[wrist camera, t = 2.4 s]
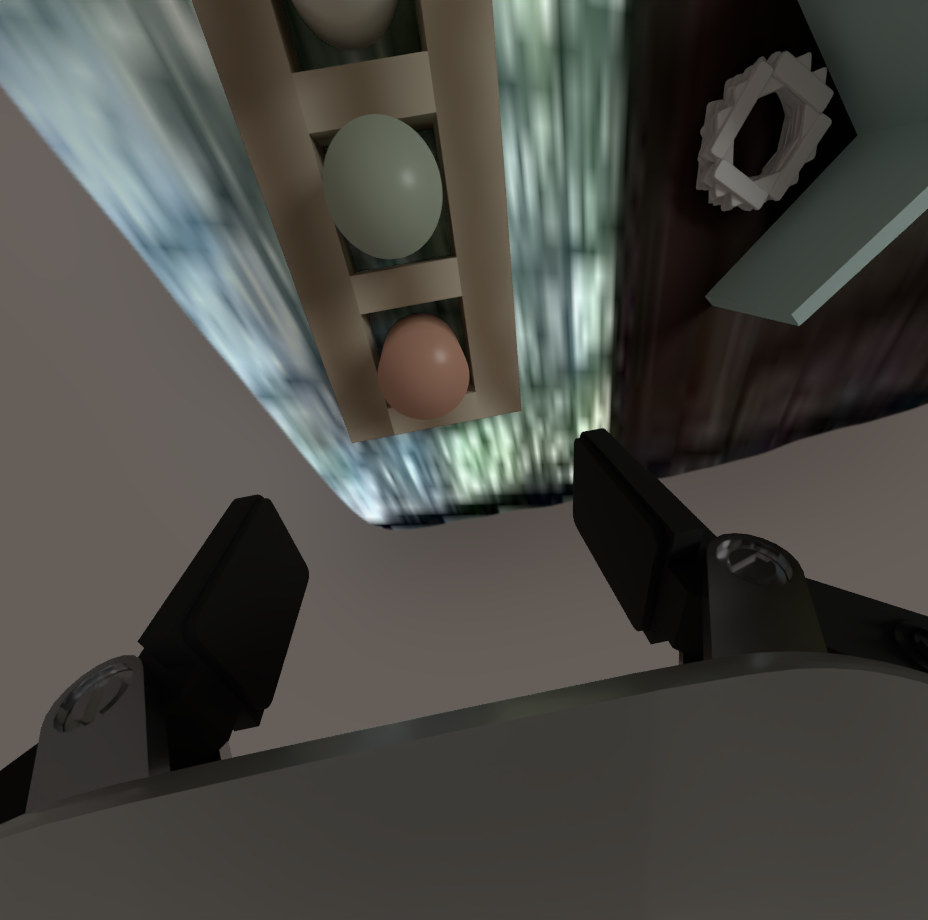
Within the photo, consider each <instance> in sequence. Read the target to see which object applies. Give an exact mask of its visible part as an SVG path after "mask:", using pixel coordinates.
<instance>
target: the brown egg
mask: <svg viewBox="0 0 928 920" xmlns="http://www.w3.org/2000/svg"><path fill="white" fill-rule="evenodd" d="M378 383H379V387H380V390H381V393H382V395H383V396H384V398H385V400H386V401H387V402H388V403H389V405H390V406H391V407H392V408H394V409H395V410H396V411H397V412H399V413H401V414H403V415H404V416H407V417H410V418H413V419H419V420H429V419H435V418H439V417H441V416H444V415H446V414H448V413H449V412H451V411H452V410H453V409H455V408H456V407H457V406H458V405H459V403H460V402H461V401H462V399H463V398H464V396H465V394H466V392H467V389H468V385H469V368H468V364H467V361H466V358H465V356H464V354H463V351H462V349H461V347H460V345H459V342H458V340H457V338H456V336H455V334H454V332H453V330H452V329H451V328H450V326H449V325H448V324H447V323H445V322H444V321H443V320H442V319H440V318H438V317H436V316H434V315H431V314H426V313H415V314H410V315H407V316H405V317H403V318H401V319H400V320H398V321H397V322H396V323H395V324H394V325H393V326H392V327H391V329H390V330H389V332H388V334H387V336H386V339H385V342H384V346H383V350H382V354H381V358H380V362H379V367H378Z"/></svg>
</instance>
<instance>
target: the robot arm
mask: <svg viewBox="0 0 928 920" xmlns="http://www.w3.org/2000/svg"><path fill="white" fill-rule="evenodd" d="M573 518H574V522H575V524H576V527H577V529H578V531H579V532H580V534H581V536H582V538H583V539H584V541H585V543H586V545H587V546H588V548H589V550H590V552H591V553H592V555H593V557H594V559H595V561H596V562H597V564H598V566H599V568H600V569H601V571H602V573H603V575H604V576H605V578H606V580H607V582H608V583H609V585H610V587H611V588H612V590H613V592H614V594H615V596H616V597H617V599H618V601H619V602H620V604H621V606H622V608H623V610H624V612H625V613H626V615H627V617H628V619H629V620H630V622H631V624H632V625H633V627H634V628H635V629H636V630H637V631H643V632H644V633H645V635H646V637H647V639H648V640H649V642H650V644H655V643H659V642H664V641H669V643H670V644H671V646H672V647H673V648H674V649H676V650H678V651H679V665H677V666H671V667H666V668H661V669H656V670H650V671H644V672H639V673H633V674H629V675H624V676H619V677H614V678H609V679H604V680H599V681H595V682H589V683H585V684H580V685H575V686H570V687H565V688H560V689H555V690H550V691H545V692H541V693H536V694H531V695H526V696H521V697H516V698H511V699H506V700H502V701H497V702H492V703H487V704H482V705H478V706H473V707H468V708H463V709H459V710H454V711H449V712H444V713H440V714H435V715H430V716H425V717H421V718H416V719H411V720H406V721H402V722H397V723H392V724H388V725H383V726H378V727H374V728H369V729H364V730H359V731H354V732H350V733H345V734H340V735H335V736H331V737H326V738H321V739H317V740H312V741H307V742H303V743H298V744H294V745H289V746H284V747H280V748H275V749H270V750H266V751H261V752H257V753H252V754H248V755H243V756H238V757H234V758H232V755H231V751H230V747H229V743H228V741H229V738H230V736H231V733H232V730H234V731H237V730H243V729H247V728H252V727H257V726H259V725H260V722H261V718H262V715H263V712H264V709H266V708H268V707H269V706H270V704H271V702H272V700H273V697H274V693H275V690H276V687H277V683H278V680H279V677H280V674H281V670H282V667H283V663H284V660H285V657H286V654H287V650H288V647H289V644H290V640H291V637H292V633H293V630H294V627H295V623H296V620H297V617H298V613H299V610H300V607H301V603H302V600H303V597H304V593H305V590H306V587H307V583H308V579H309V571H308V567H307V565H306V563H305V561H304V560H303V558H302V556H301V554H300V552H299V551H298V549H297V547H296V545H295V543H294V541H293V540H292V538H291V536H290V534H289V533H288V530H287V529H286V527H285V525H284V523H283V521H282V520H281V518H280V516H279V514H278V512H277V511H276V509H275V507H274V505H273V503H272V502H271V500H269V499H267V498H265V499H264V497H262V496H261V495H252V496H247V497H242V498H237V499H235V500H234V501H233V502H232V503H231V505H230V506H229V507H228V509H227V510H226V512H225V514H224V515H223V516H222V518H221V519H220V521H219V522H218V524H217V525H216V527H215V528H214V529H213V531H212V533H211V534H210V535H209V537H208V538H207V540H206V541H205V543H204V544H203V546H202V547H201V549H200V550H199V552H198V553H197V555H196V556H195V558H194V559H193V561H192V562H191V564H190V565H189V566H188V568H187V570H186V571H185V572H184V574H183V575H182V577H181V578H180V580H179V581H178V583H177V584H176V586H175V587H174V589H173V590H172V592H171V593H170V594H169V596H168V597H167V599H166V600H165V602H164V603H163V605H162V606H161V608H160V609H159V611H158V612H157V614H156V615H155V617H154V618H153V620H152V621H151V623H150V624H149V626H148V627H147V629H146V630H145V632H144V633H143V634H142V636H141V637H140V639H139V640H138V642H139V643H140V644H141V645H142V646H143V647H144V649H143V651H142V652H141V654H140V656H139V657H136V656H134V655H123V656H120V657H116V658H113V659H110V660H108V661H106V662H104V663H102V664H100V665H98V666H96V667H95V668H93V669H92V670H90V671H89V672H87V673H86V674H84V675H83V676H81V677H80V678H79V679H78V680H77V681H76V682H74V683H73V684H72V685H71V686H70V687H68V688H67V689H66V690H65V692H64V693H63V694H62V695H61V696H60V697H59V698H58V699H57V700H56V702H55V703H54V704H53V706H52V707H51V709H50V710H49V712H48V713H47V715H46V716H45V719H44V722H43V724H42V727H41V732H40V737H39V743H37V744H36V745H35V746H33V747H32V748H31V749H29V750H28V751H26V752H25V753H24V754H22V755H21V756H20V757H18V758H17V759H16V760H14V761H13V762H12V763H10V764H9V765H7V766H6V767H5V768H3V769H2V770H1V771H0V920H928V616H925V615H922V614H919V613H915V612H912V611H909V610H906V609H902V608H900V607H897V606H893V605H890V604H887V603H884V602H880V601H878V600H874V599H871V598H868V597H865V596H861V595H858V594H855V593H852V592H849V591H846V590H843V589H840V588H836V587H833V586H830V585H827V584H823V583H820V582H818V581H814V580H811V579H808V578H805V576H804V572H803V570H802V568H801V566H800V564H799V563H798V561H797V560H796V559H795V558H794V557H793V556H792V555H791V554H790V553H789V552H788V551H786V550H784V549H783V548H781V547H780V546H778V545H777V544H775V543H772V542H770V541H768V540H765V539H763V538H760V537H756V536H752V535H748V534H737V533H732V534H723V535H720V536H718V537H716V536H715V535H714V534H713V533H712V532H711V531H710V530H709V529H708V528H707V527H706V526H705V525H704V524H703V523H702V522H701V521H700V520H699V519H698V518H697V517H696V516H695V515H694V514H693V513H692V512H691V511H690V510H689V509H688V508H687V507H686V506H684V504H683V503H682V502H681V501H679V499H678V498H677V497H676V496H674V494H673V493H672V492H670V490H668V489H667V488H666V487H665V486H664V485H663V484H662V483H661V482H660V481H659V480H658V479H657V478H656V477H655V476H654V475H653V474H652V473H651V472H650V471H648V470H646V469H645V468H644V467H643V466H642V465H641V464H640V463H639V462H638V461H637V460H636V459H635V458H634V457H633V456H632V455H631V454H630V453H629V452H628V451H627V450H626V449H625V448H624V447H623V446H622V445H621V444H620V443H619V442H618V441H617V440H616V439H615V438H614V437H613V436H612V435H611V434H609V433H608V432H607V431H606V430H605V429H604V428H601V429H596V430H591V431H585V432H582V433H581V435H580V438H577V439H575V441H574V475H573Z"/></svg>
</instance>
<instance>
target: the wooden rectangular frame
mask: <svg viewBox="0 0 928 920" xmlns="http://www.w3.org/2000/svg"><path fill="white" fill-rule="evenodd" d="M414 1H415V8H416V15H417V22H418V29H419V35H420V42H421V49H422V52H417V53H411V54H405V55H399V56H393V57H387V58H381V59H375V60H369V61H363V62H357V63H351V64H345V65H339V66H333V67H327V68H321V69H314V70H308V71H302V72H301V68H300V65H299V61H298V58H297V54H296V50H295V47H294V43H293V39H292V36H291V32H290V29H289V25H288V21H287V18H286V14H285V10H284V7H283V3H282V0H192V2H193V5H194V8H195V11H196V13H197V16H198V19H199V22H200V24H201V27H202V30H203V33H204V36H205V38H206V41H207V44H208V47H209V49H210V52H211V55H212V58H213V60H214V63H215V66H216V69H217V71H218V74H219V77H220V80H221V82H222V85H223V88H224V91H225V93H226V96H227V99H228V102H229V105H230V107H231V110H232V113H233V116H234V118H235V121H236V124H237V127H238V129H239V132H240V135H241V138H242V140H243V143H244V146H245V149H246V151H247V154H248V157H249V160H250V162H251V165H252V168H253V171H254V174H255V176H256V179H257V182H258V185H259V187H260V190H261V193H262V196H263V198H264V201H265V204H266V207H267V209H268V212H269V215H270V218H271V220H272V223H273V226H274V229H275V231H276V234H277V237H278V240H279V243H280V245H281V248H282V251H283V254H284V256H285V259H286V262H287V265H288V267H289V270H290V273H291V276H292V278H293V281H294V284H295V287H296V289H297V292H298V295H299V298H300V300H301V303H302V306H303V309H304V312H305V314H306V317H307V320H308V323H309V325H310V328H311V331H312V334H313V336H314V339H315V342H316V345H317V347H318V350H319V353H320V356H321V358H322V361H323V364H324V367H325V369H326V372H327V375H328V378H329V381H330V383H331V386H332V389H333V392H334V394H335V397H336V400H337V403H338V405H339V408H340V411H341V414H342V416H343V419H344V422H345V425H346V427H347V430H348V433H349V436H350V438H351V441H352V443H355V442H361V441H366V440H371V439H376V438H381V437H387V436H392V435H397V434H402V433H408V432H413V431H418V430H423V429H429V428H434V427H439V426H444V425H449V424H455V423H460V422H465V421H470V420H476V419H481V418H486V417H491V416H497V415H502V414H507V413H512V412H518V411H521V398H520V384H519V370H518V356H517V342H516V328H515V314H514V300H513V286H512V272H511V258H510V244H509V230H508V216H507V202H506V188H505V174H504V160H503V146H502V132H501V118H500V104H499V90H498V76H497V62H496V48H495V34H494V20H493V6H492V0H414ZM369 114H381V115H387V116H391V117H394V118H396V119H398V120H400V121H402V122H404V123H405V124H407V125H408V126H410V127H411V128H412V129H413V130H414V131H420V130H425V129H431V128H433V131H434V138H435V144H436V151H437V158H438V165H439V172H440V177H441V182H442V192H443V199H444V206H445V213H446V219H447V226H448V233H449V240H450V247H451V253H452V255H449V256H443V257H438V258H432V259H426V260H421V261H415V262H410V263H404V264H399V265H393V266H388V267H382V268H376V269H371V270H365V271H360V272H356V268H355V265H354V261H353V257H352V254H351V250H350V247H349V243H348V240H347V239H346V238H345V237H344V236H343V234H342V233H341V232H340V230H339V229H338V227H337V226H336V224H335V222H334V221H333V219H332V216H331V214H330V212H329V209H328V206H327V204H326V200H325V195H324V189H323V166H324V161H325V156H324V152H323V148H322V147H326V146H329V145H330V144H331V142H332V140H333V138H334V137H335V135H336V134H337V133H338V131H339V130H340V129H341V128H342V127H343V126H344V125H346V124H347V123H348V122H350V121H351V120H353V119H355V118H358V117H360V116H364V115H369ZM454 297H458V301H459V308H460V315H461V322H462V328H463V335H464V342H465V349H466V356H467V362H468V368H469V376H470V377H469V385H468V389H467V392H466V394H465V396H464V398H463V399H462V401H461V402H460V403H459V405H458V406H457V407H456V408H455V409H453V410H452V411H451V412H449V413H448V414H446V415H444V416H441V417H439V418H435V419H429V420H419V419H413V418H410V417H407V416H404V415H403V414H401V413H399V412H397V411H396V410H395V409H394V408H392V407H391V406H390V405H389V403H388V402H387V401H386V400H385V398H384V396H383V395H382V393H381V390H380V387H379V383H378V367H379V362H380V356H379V352H378V348H377V345H376V341H375V337H374V334H373V330H372V327H371V323H370V319H369V316H368V313H372V312H378V311H383V310H389V309H394V308H400V307H405V306H410V305H416V304H421V303H427V302H432V301H438V300H443V299H449V298H454Z"/></svg>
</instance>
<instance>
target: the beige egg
mask: <svg viewBox="0 0 928 920" xmlns="http://www.w3.org/2000/svg"><path fill="white" fill-rule="evenodd" d="M291 1H292V3H293V5H294V7H295V9H296V10H297V12H298V13H299V15H300V17H301V18H302V19H303V21H304V22H305V23H306V25H307V26H308V27H309V28H310V29H311V30H312V31H313V32H314V33H315V34H316V35H317V36H318V37H319V38H320V39H322V40H323V41H325V42H326V43H328V44H329V45H332V46H334V47H336V48H339V49H342V50H349V51H354V50H361V49H364V48H367V47H369V46H371V45H372V44H374V43H375V42H376V41H378V40H379V39H380V38H381V37H382V36H383V34H384V33H385V31H386V30H387V29H388V27H389V25H390V23H391V21H392V18H393V16H394V13H395V10H396V6H397V2H398V0H291Z"/></svg>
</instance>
